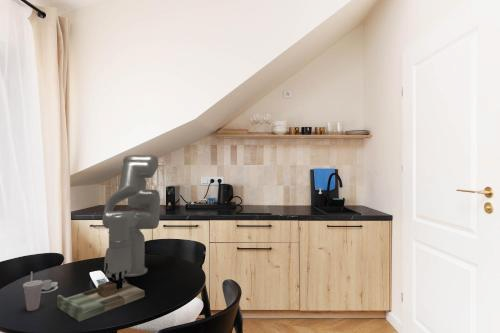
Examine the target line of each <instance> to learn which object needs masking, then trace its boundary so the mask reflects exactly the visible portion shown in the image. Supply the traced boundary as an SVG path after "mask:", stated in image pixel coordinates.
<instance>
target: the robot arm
mask: <svg viewBox="0 0 500 333" xmlns="http://www.w3.org/2000/svg"><path fill="white" fill-rule="evenodd" d="M122 162H123V165H122V168H121V174H120V178H119V179H120V180H119V185H118V189H117V190H116V191H115V192H114V193H113V194H111V195H110V197H109V198H108V199H107V201H106V202H105V204H104V210H103V214H102V226H103V227H104V228H106V229H107V230H108V247H107V248H106V249H105V255H104V260H103V261H104V262H103V271H104V272H105V277H106V278H112V279H113V282H114V283H116V289H118V290H119V289H122V285H123V282H124V278H125V277H127V278H129V277H130V278H131V277H139V276H143V275H145V274H146V273H148V268H147V267H146V266H145V254H146V252H145V250H146V249H145V235H144V234H143V232H142V231H141V230H154V229H157V228H158V226H159V224H160V214H161V213H160V211H161V210H160V209H161V195H160V192H159V191H158V190H156V189H147V179H150V178H153V177H154V176H155V174H156V172H157V170H158V167H159V160H158V157H157V156H156V155H152V154H149V155H147V154H143V155H142V154H141V155H140V154H130V155H126V156H124V157H123V161H122ZM124 200H127V205H128V207H130V208H131V209H132V208H133V210H128V211H127V210H121V211H120V210H119V211H118V210H114V208H115V206H117V204H119V203H120V202H122V201H124ZM134 208H135V210H134ZM145 208H146V209H145ZM144 209H145V210H144Z"/></svg>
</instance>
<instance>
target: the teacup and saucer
mask: <svg viewBox="0 0 500 333" xmlns="http://www.w3.org/2000/svg"><path fill="white" fill-rule="evenodd" d="M42 281H43V285H42V290H44V291H41V294H45V293H51V292H54V291H56V290H57V289H58V288H59V286H58V284H59V283H58V281H53V280H52V279H46V280H42ZM52 288H54V289H52Z"/></svg>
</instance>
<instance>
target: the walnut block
mask: <svg viewBox="0 0 500 333" xmlns="http://www.w3.org/2000/svg"><path fill="white" fill-rule="evenodd" d="M97 288H98V295H100V296H102V297H104V298H105V297H108V296H111V295H114V294H116V283H114V281H111V280H110V281H109V280H108V281H105V282H101V283H99V284H97Z"/></svg>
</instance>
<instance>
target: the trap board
mask: <svg viewBox="0 0 500 333" xmlns="http://www.w3.org/2000/svg"><path fill="white" fill-rule="evenodd" d="M145 295H146V293H145V290H144V289H141V288H139V287H138V286H135V285H132V284H129V283H127V282H125V281H123V285H122V289H119V290H118V289H116V294H114V295H111V296H108V297H105V298H104V297H102V296H100V295H98V287H97V288H93V289H90V290H88V291H84V292H81V293H78V294H74V295H71V296H68V297H65V296H63V295H61V294H58V295H57V296H56V297H57V300H56V301H57V302H56V307H57V309H59V310H61V311H62V312H64V313H65V314H67V315H68V316H70V317H72V318H74V319H73V320H76V321H78V322H79V323H80V322H82V321H85V320H87V319H90V318H93V317H95V316H98V315H100V314H103V313H106V312H108V311H111V310H114V309H115V308H116V309H117V308H118V307H122V306H123V305H124V306H125V305H127V304H129V303H132V302H135V301H137V300H139V299H140V300H141V299H142V298H144V297H146V296H145Z"/></svg>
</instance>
